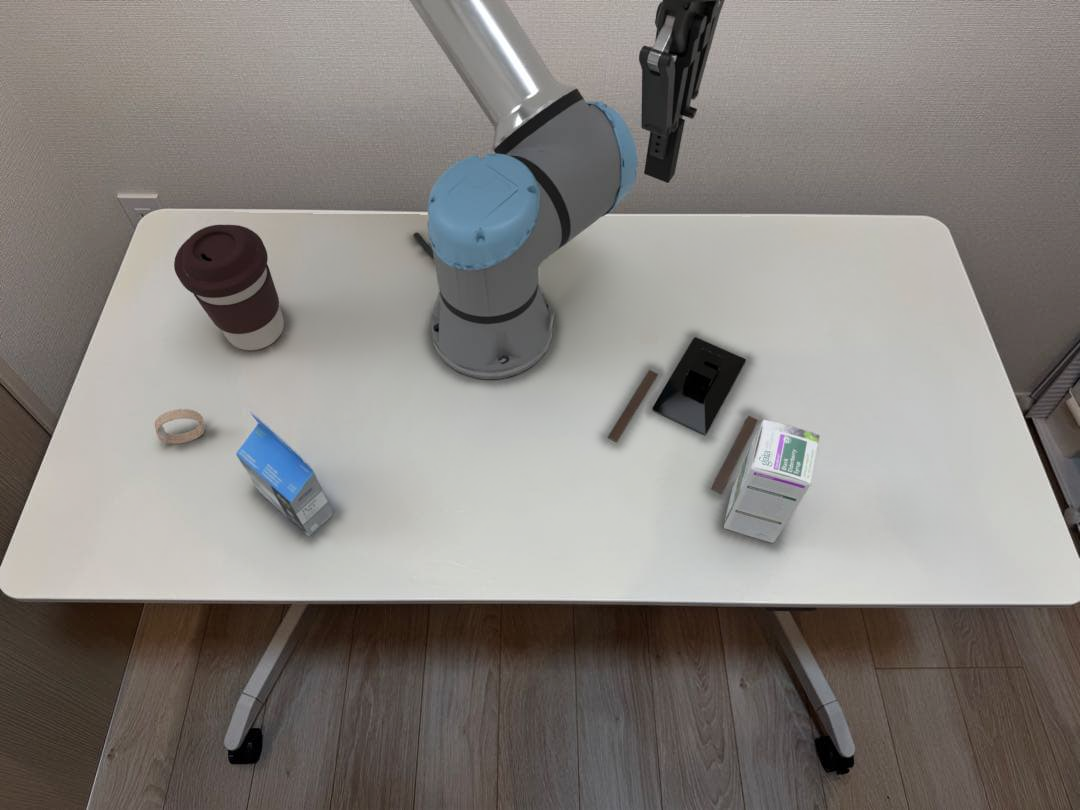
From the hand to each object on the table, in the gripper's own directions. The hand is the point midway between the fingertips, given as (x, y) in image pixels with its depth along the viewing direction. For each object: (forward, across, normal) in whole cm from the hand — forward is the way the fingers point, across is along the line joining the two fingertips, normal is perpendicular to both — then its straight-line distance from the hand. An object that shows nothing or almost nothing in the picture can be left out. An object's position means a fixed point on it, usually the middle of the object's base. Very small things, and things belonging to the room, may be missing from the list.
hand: (659, 173), depth 77 cm
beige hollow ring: (+25, -41, +37) cm, 60 cm away
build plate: (+25, -4, -11) cm, 27 cm away
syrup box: (+25, -17, -23) cm, 38 cm away
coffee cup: (+25, -25, +41) cm, 54 cm away
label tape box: (+25, -41, +21) cm, 52 cm away
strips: (+24, -11, -12) cm, 29 cm away
